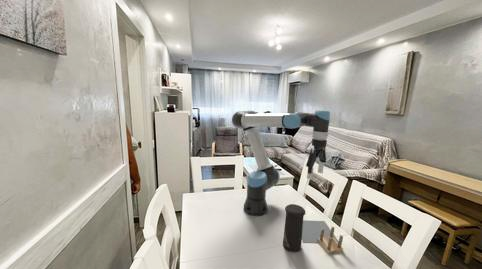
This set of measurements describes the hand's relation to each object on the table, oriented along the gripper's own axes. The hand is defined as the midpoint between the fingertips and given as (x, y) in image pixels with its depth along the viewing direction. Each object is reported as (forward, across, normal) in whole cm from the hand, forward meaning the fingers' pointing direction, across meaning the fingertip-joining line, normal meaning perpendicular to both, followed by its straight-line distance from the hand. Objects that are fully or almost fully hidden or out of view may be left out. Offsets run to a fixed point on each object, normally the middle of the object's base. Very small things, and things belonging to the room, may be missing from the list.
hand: (315, 175), depth 110 cm
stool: (+26, -15, -17) cm, 35 cm away
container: (+27, -28, -4) cm, 39 cm away
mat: (+27, -9, -7) cm, 29 cm away
